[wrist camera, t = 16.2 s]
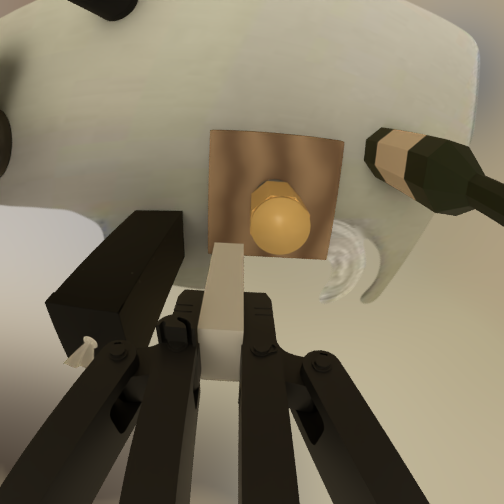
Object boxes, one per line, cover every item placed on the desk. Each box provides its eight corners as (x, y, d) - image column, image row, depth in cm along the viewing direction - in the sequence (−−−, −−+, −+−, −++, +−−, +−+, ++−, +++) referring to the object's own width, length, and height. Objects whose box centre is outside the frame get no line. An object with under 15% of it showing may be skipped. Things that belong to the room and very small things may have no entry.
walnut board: (209, 247, 45) (208, 253, 43) (212, 129, 37) (210, 130, 35) (323, 253, 46) (326, 259, 44) (340, 140, 38) (344, 141, 36)
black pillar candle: (185, 257, 46) (128, 404, 21) (139, 254, 46) (58, 386, 21) (182, 210, 42) (102, 341, 17) (134, 209, 42) (25, 324, 17)
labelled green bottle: (353, 163, 39) (501, 256, 12) (378, 116, 36) (550, 147, 9) (394, 189, 41) (534, 296, 14) (418, 146, 37) (576, 211, 11)
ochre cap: (249, 226, 38) (248, 253, 31) (252, 179, 36) (252, 196, 28) (296, 229, 38) (306, 256, 31) (301, 183, 36) (314, 201, 29)
